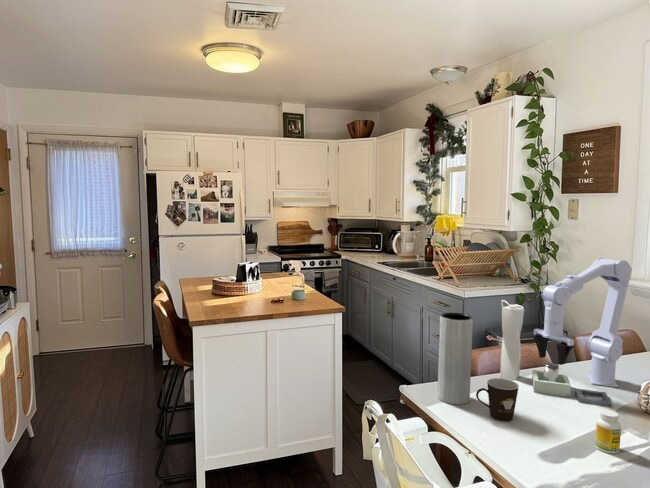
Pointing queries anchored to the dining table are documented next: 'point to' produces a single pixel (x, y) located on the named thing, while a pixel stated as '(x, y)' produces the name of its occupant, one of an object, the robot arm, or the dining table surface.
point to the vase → (455, 358)
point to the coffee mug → (501, 398)
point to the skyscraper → (511, 341)
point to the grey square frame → (603, 402)
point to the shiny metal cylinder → (551, 372)
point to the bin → (551, 384)
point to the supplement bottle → (608, 432)
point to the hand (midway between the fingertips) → (551, 360)
